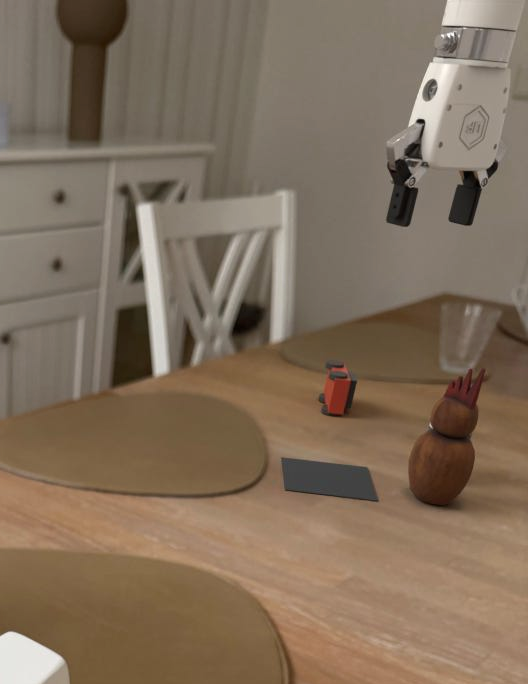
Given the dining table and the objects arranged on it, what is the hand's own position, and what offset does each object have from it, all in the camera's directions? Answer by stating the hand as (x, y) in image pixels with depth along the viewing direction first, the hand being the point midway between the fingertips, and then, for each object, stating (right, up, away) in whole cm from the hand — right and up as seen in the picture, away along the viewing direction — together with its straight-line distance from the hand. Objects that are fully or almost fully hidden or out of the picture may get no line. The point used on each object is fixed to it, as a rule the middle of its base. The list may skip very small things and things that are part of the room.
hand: (428, 224), depth 112 cm
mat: (-12, -29, 0) cm, 31 cm away
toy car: (-4, -16, +22) cm, 27 cm away
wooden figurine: (-1, -32, -3) cm, 32 cm away
